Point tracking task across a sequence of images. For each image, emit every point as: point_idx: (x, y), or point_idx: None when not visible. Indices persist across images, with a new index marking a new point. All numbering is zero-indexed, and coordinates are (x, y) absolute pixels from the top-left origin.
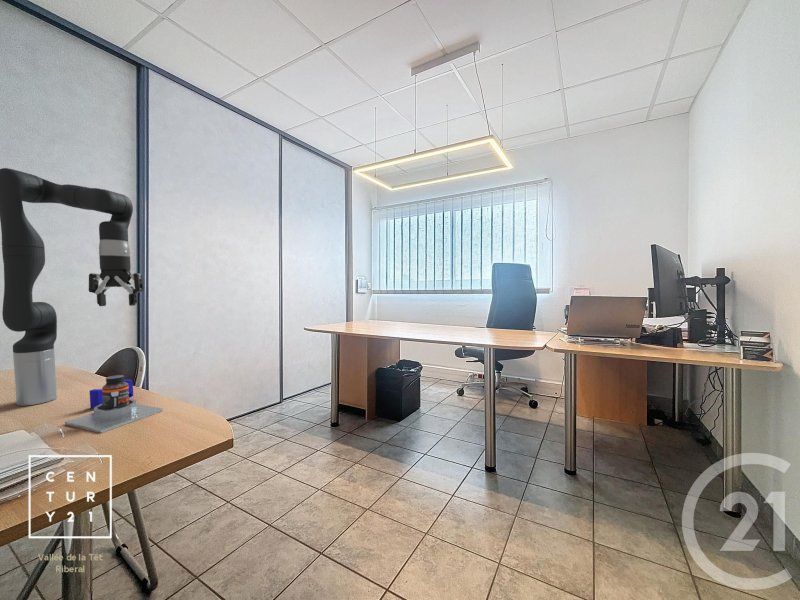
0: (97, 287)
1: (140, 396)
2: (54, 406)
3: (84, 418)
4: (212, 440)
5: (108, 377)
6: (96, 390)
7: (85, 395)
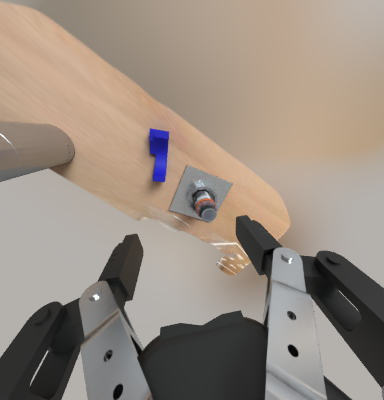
0: (46, 348)
1: (179, 133)
2: (104, 165)
3: (179, 204)
4: (283, 228)
5: (204, 218)
6: (161, 180)
7: (94, 122)
